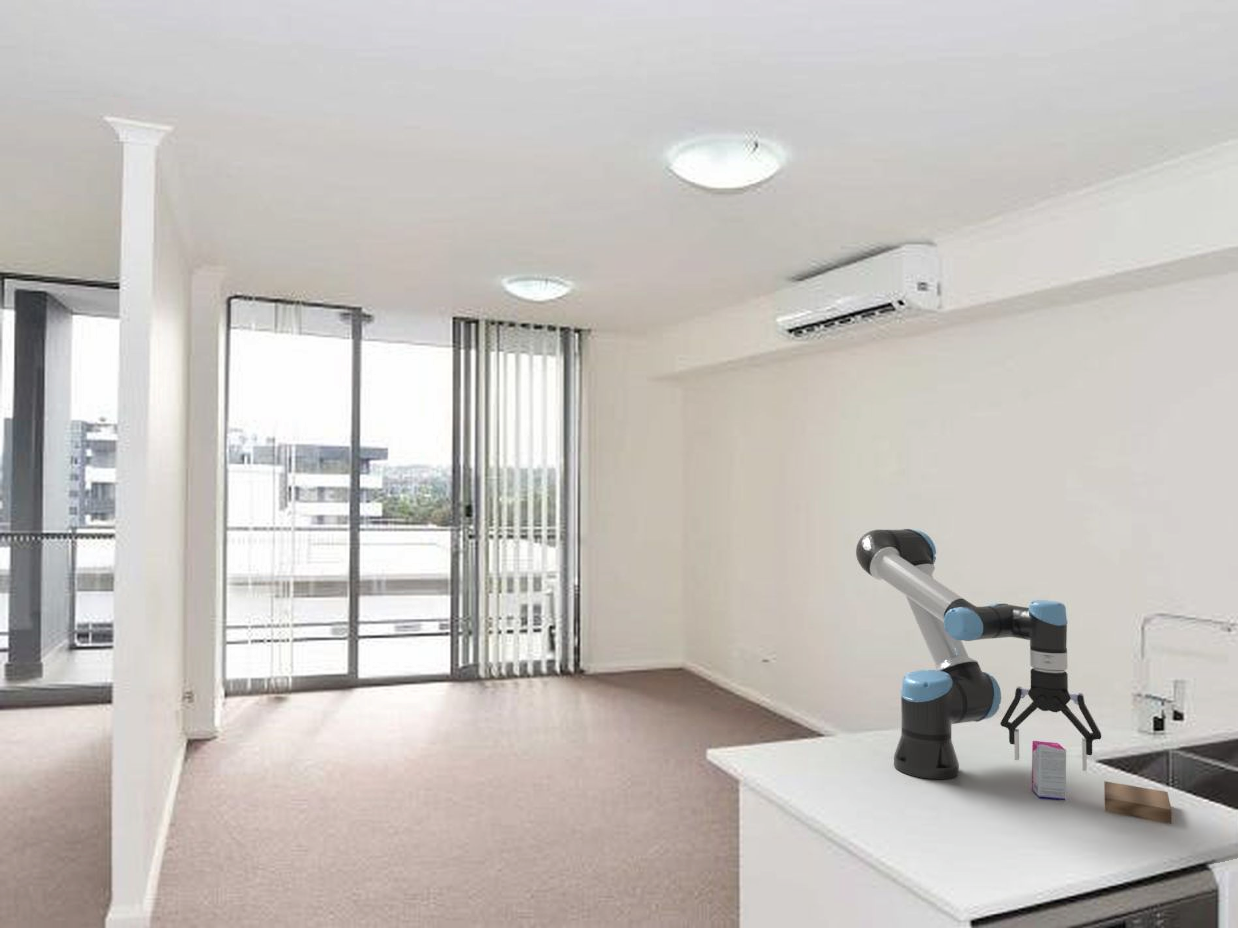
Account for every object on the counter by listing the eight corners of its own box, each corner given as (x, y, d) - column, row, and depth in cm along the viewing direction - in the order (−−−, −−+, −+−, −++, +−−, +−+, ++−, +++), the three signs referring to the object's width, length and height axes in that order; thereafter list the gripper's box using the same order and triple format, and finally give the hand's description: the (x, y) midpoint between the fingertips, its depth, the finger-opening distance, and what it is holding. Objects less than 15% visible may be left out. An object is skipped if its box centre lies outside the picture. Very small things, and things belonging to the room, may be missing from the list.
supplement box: (1066, 801, 182) (1066, 749, 182) (1038, 798, 183) (1038, 747, 184) (1058, 792, 188) (1058, 741, 188) (1030, 789, 189) (1030, 739, 189)
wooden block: (1104, 811, 176) (1104, 797, 177) (1104, 794, 187) (1104, 780, 187) (1171, 823, 170) (1171, 809, 170) (1167, 805, 181) (1167, 791, 181)
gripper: (987, 666, 189) (988, 758, 188) (1112, 678, 177) (1114, 778, 176) (991, 660, 196) (992, 750, 195) (1112, 672, 183) (1114, 768, 182)
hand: (1050, 763), depth 185 cm, fingers open, 13 cm apart
